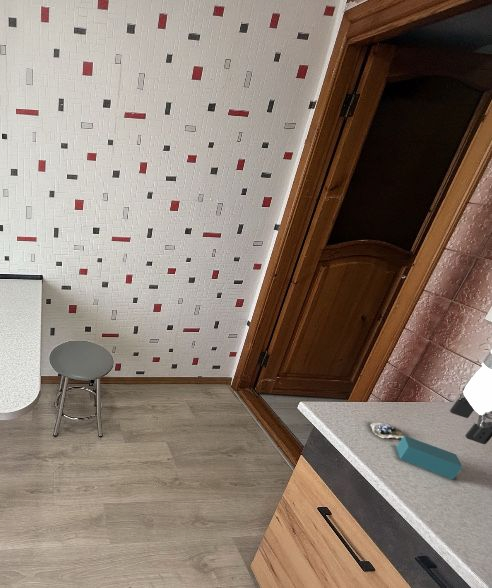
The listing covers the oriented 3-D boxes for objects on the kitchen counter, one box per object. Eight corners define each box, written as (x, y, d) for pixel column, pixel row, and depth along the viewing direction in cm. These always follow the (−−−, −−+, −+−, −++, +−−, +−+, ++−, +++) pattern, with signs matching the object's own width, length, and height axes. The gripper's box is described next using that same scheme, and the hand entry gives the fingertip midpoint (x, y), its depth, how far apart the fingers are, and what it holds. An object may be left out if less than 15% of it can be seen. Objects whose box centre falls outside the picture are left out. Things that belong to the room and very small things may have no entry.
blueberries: (408, 438, 92) (411, 433, 91) (390, 445, 89) (393, 440, 88) (381, 421, 97) (383, 416, 97) (363, 426, 95) (366, 421, 94)
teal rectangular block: (446, 466, 84) (456, 454, 82) (453, 480, 80) (463, 467, 78) (395, 447, 88) (403, 435, 87) (399, 459, 85) (408, 446, 83)
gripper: (562, 397, 62) (507, 461, 69) (515, 356, 76) (473, 412, 83) (505, 381, 66) (457, 443, 73) (470, 344, 79) (433, 399, 86)
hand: (466, 427), depth 78 cm, fingers open, 9 cm apart
